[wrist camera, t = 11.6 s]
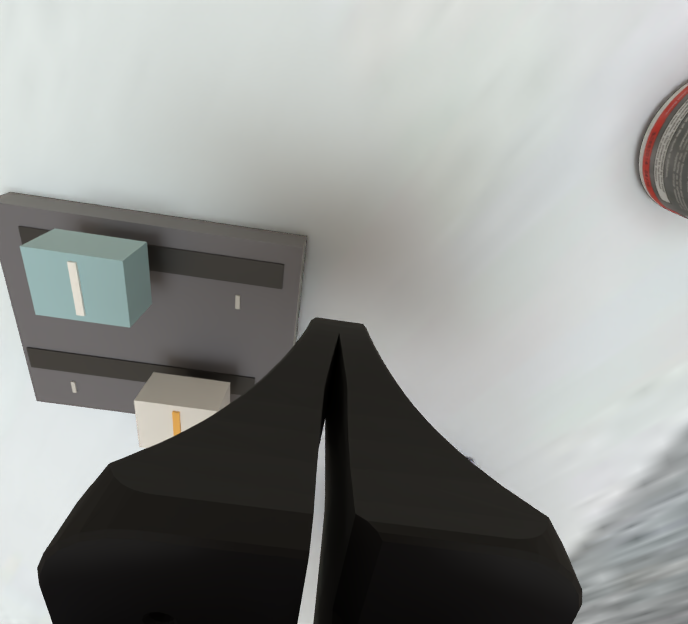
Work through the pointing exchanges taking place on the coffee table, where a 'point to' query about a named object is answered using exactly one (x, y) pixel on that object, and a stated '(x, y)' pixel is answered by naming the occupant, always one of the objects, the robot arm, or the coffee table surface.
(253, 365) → the mixer panel
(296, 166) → the coffee table surface
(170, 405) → the cream fader
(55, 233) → the teal fader
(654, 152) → the pill bottle
